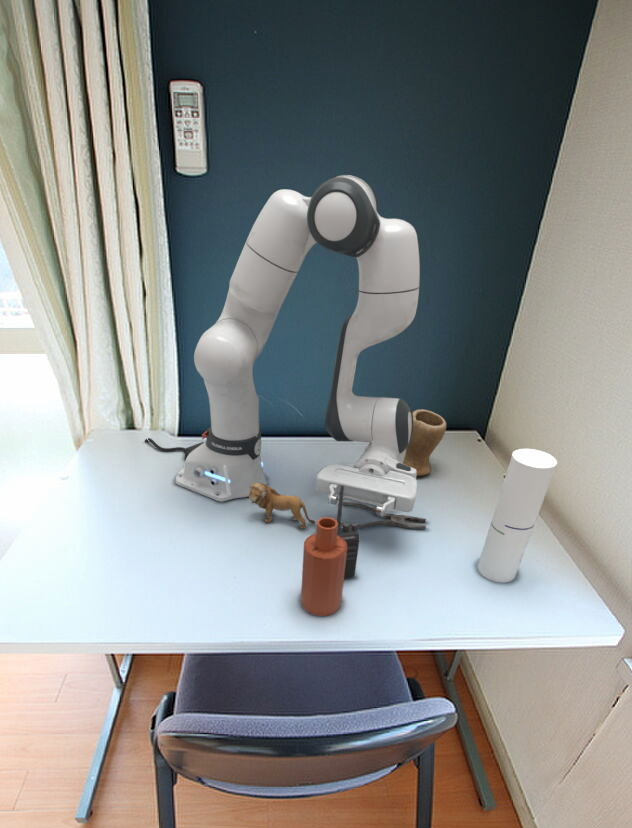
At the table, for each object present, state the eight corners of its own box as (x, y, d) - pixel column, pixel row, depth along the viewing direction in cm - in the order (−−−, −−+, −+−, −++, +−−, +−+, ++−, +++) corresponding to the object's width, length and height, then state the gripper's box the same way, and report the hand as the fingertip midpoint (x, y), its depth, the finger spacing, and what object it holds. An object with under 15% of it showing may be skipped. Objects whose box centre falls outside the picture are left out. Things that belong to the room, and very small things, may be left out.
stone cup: (441, 479, 131) (453, 425, 122) (394, 478, 131) (403, 424, 122) (427, 452, 143) (438, 401, 134) (385, 451, 143) (393, 400, 134)
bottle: (295, 609, 91) (298, 529, 81) (309, 584, 97) (314, 506, 87) (333, 620, 89) (341, 540, 79) (345, 594, 95) (354, 516, 85)
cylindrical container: (511, 587, 97) (553, 472, 83) (473, 573, 100) (508, 460, 86) (518, 567, 102) (560, 455, 88) (482, 554, 105) (517, 445, 91)
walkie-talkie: (332, 581, 98) (341, 492, 86) (327, 570, 100) (335, 482, 89) (356, 578, 99) (368, 489, 87) (350, 567, 101) (361, 479, 90)
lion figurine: (246, 524, 113) (245, 489, 108) (251, 511, 117) (251, 476, 112) (313, 531, 111) (315, 495, 106) (315, 517, 115) (318, 483, 110)
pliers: (334, 500, 120) (419, 502, 120) (333, 503, 120) (419, 505, 120) (337, 524, 112) (428, 526, 112) (336, 527, 112) (427, 529, 112)
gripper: (328, 451, 109) (305, 481, 99) (424, 470, 103) (410, 504, 92) (326, 477, 113) (303, 508, 102) (419, 497, 107) (405, 533, 96)
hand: (355, 506), depth 97 cm, fingers open, 8 cm apart
